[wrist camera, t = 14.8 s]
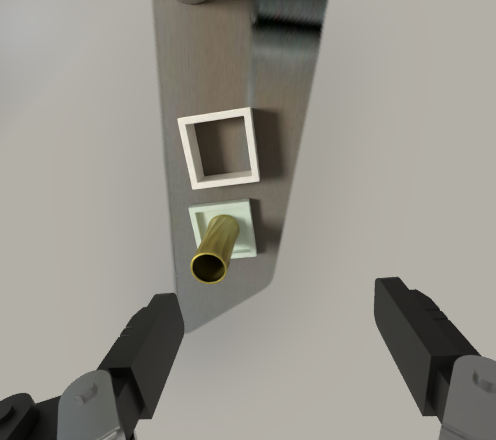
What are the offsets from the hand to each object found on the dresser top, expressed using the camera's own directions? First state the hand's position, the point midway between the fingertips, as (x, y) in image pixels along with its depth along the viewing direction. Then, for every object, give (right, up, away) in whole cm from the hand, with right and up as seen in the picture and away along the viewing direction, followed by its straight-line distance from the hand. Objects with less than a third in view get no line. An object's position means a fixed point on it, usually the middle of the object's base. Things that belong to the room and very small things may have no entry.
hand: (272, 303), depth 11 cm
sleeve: (-5, +16, +35) cm, 39 cm away
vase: (-6, +2, +40) cm, 41 cm away
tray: (-5, +2, +41) cm, 41 cm away
